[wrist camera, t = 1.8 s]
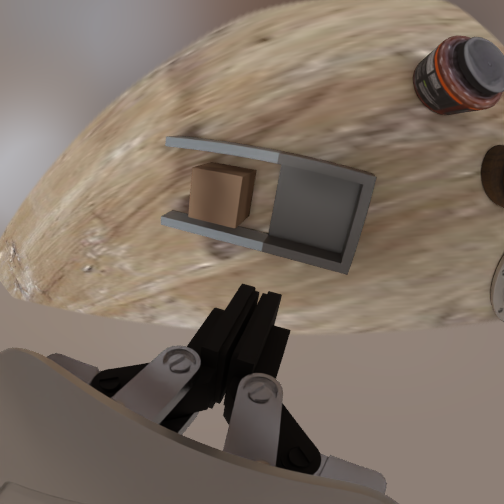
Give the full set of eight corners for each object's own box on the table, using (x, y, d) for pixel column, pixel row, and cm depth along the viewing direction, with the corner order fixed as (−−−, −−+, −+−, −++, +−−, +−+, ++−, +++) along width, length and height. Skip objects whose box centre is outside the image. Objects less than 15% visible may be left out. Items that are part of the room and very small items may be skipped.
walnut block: (256, 170, 28) (242, 176, 24) (249, 215, 30) (235, 228, 26) (212, 162, 29) (192, 167, 25) (207, 205, 31) (188, 216, 27)
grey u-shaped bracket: (372, 173, 25) (376, 177, 22) (347, 263, 29) (347, 274, 27) (178, 135, 29) (166, 136, 27) (172, 218, 33) (160, 224, 31)
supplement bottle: (471, 90, 17) (531, 76, 8) (444, 127, 20) (502, 127, 10) (429, 48, 17) (472, 9, 7) (400, 85, 20) (437, 56, 10)
